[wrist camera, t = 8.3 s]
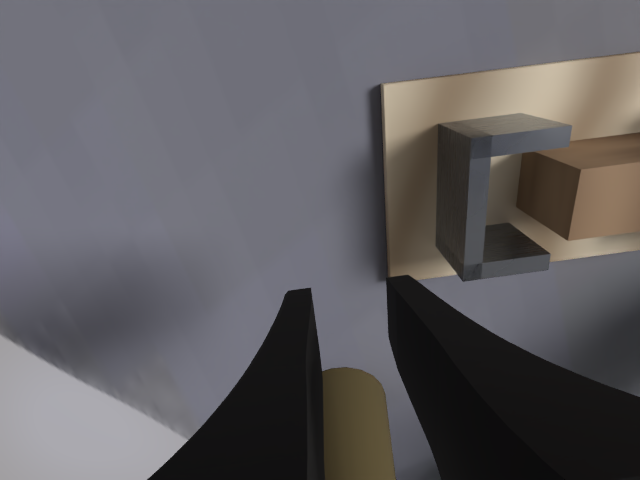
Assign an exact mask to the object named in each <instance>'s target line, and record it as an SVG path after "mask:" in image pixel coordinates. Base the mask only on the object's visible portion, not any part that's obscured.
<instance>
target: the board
mask: <svg viewBox="0 0 640 480" xmlns="http://www.w3.org/2000/svg"><path fill="white" fill-rule="evenodd" d="M381 108H382V133H383V159H384V185H385V211H386V236H387V262H388V277H394V276H401V275H410V276H411V277H412V278H414V279H415V280H420V279H428V278H435V277H443V276H450V275H457V273H456V272H455V271H454V269H453V268H452V267H451V266H450V264H449V263H448V262H447V260H446V259H445V258H444V257H443V255H442V254H441V253H440V251H439V250H438V249H437V248H436V246H435V243H436V197H437V151H438V123H445V122H453V121H461V120H469V119H477V118H485V117H493V116H500V115H508V114H516V113H524V114H528V115H532V116H536V117H540V118H544V119H548V120H552V121H557V122H561V123H565V124H569V125H572V131H571V137H570V141H575V140H583V139H591V138H599V137H606V136H614V135H622V134H630V133H637V132H640V52H633V53H625V54H617V55H609V56H601V57H593V58H585V59H577V60H569V61H561V62H553V63H545V64H536V65H528V66H520V67H512V68H504V69H496V70H488V71H480V72H472V73H464V74H456V75H448V76H440V77H431V78H423V79H415V80H407V81H399V82H391V83H383V84H381ZM521 160H522V153H518V154H510V155H503V156H495V157H491V164H490V176H489V188H488V200H487V213H486V225H494V224H501V223H510V224H512V225H513V226H514V227H516V228H517V229H518V230H520V231H521V232H522V233H524V234H525V235H526V236H528V237H529V238H530V239H532V240H533V241H534V242H536V243H537V244H538V245H540V246H541V247H542V248H544V249H545V250H546V251H548V252H549V253H550V254H551V256H550V262H553V261H561V260H568V259H575V258H583V257H590V256H598V255H605V254H612V253H620V252H627V251H634V250H640V231H639V232H632V233H624V234H617V235H609V236H602V237H594V238H587V239H580V240H572V241H567V240H565V239H564V238H562V237H561V236H559V235H558V234H556V233H555V232H553V231H552V230H550V229H549V228H547V227H546V226H544V225H543V224H541V223H540V222H538V221H537V220H535V219H534V218H532V217H531V216H529V215H527V214H526V213H524V212H523V211H521V210H520V209H518V208H517V207H516V202H517V194H518V185H519V177H520V168H521ZM486 225H485V226H486Z"/></svg>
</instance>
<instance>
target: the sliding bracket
mask: <svg viewBox="0 0 640 480" xmlns="http://www.w3.org/2000/svg"><path fill="white" fill-rule="evenodd" d="M571 131H572V125H569V124H565V123H561V122H557V121H552V120H548V119H544V118H540V117H536V116H532V115H528V114H524V113H516V114H508V115H500V116H493V117H485V118H477V119H469V120H461V121H453V122H445V123H438V151H437V197H436V243H435V246H436V248H437V249H438V250H439V251H440V253H441V254H442V255H443V257H444V258H445V259H446V260H447V262H448V263H449V264H450V266H451V267H452V268H453V269H454V271H455V272H456V273H457V274H458V276H459V277H460V278H461V280H462V281H471V280H478V279H485V278H493V277H500V276H508V275H515V274H522V273H530V272H537V271H544V270H548V268H549V262H550V256H551V254H550V253H549V252H548V251H546V250H545V249H544V248H542V247H541V246H540V245H538V244H537V243H536V242H534V241H533V240H532V239H530V238H529V237H528V236H526V235H525V234H524V233H522V232H521V231H520V230H518V229H517V228H516V227H514V226H513V225H512V224H510V223H501V224H494V225H486V213H487V200H488V188H489V176H490V164H491V157H495V156H503V155H510V154H518V153H526V152H534V151H542V150H549V149H557V148H565V147H569V143H570V137H571ZM485 225H486V226H485Z"/></svg>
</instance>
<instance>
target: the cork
mask: <svg viewBox="0 0 640 480" xmlns="http://www.w3.org/2000/svg"><path fill="white" fill-rule="evenodd" d="M322 376H323V417H324V469H325V480H396V477H395V469H394V461H393V453H392V445H391V437H390V429H389V421H388V413H387V405H386V397H385V392H384V390H383V387H382V385H381V383H380V382H379V381H378V380H377V379H376V378H375V377H374V376H373V375H371V374H368V373H366V372H364V371H362V370H359V369H353V368H347V367H346V368H333V369H329V370H326V371H323V372H322Z"/></svg>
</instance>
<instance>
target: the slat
mask: <svg viewBox="0 0 640 480" xmlns="http://www.w3.org/2000/svg"><path fill="white" fill-rule="evenodd" d="M516 207H517V208H518V209H520V210H521V211H523V212H524V213H526V214H527V215H529V216H531V217H532V218H534V219H535V220H537V221H538V222H540V223H541V224H543V225H544V226H546V227H547V228H549V229H550V230H552V231H553V232H555V233H556V234H558V235H559V236H561V237H562V238H564V239H565V240H567V241H572V240H580V239H587V238H594V237H602V236H609V235H617V234H624V233H632V232H639V231H640V132H637V133H630V134H622V135H614V136H606V137H599V138H591V139H583V140H575V141H570V143H569V147H565V148H557V149H549V150H542V151H534V152H526V153H522V160H521V168H520V177H519V185H518V194H517V202H516Z"/></svg>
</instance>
